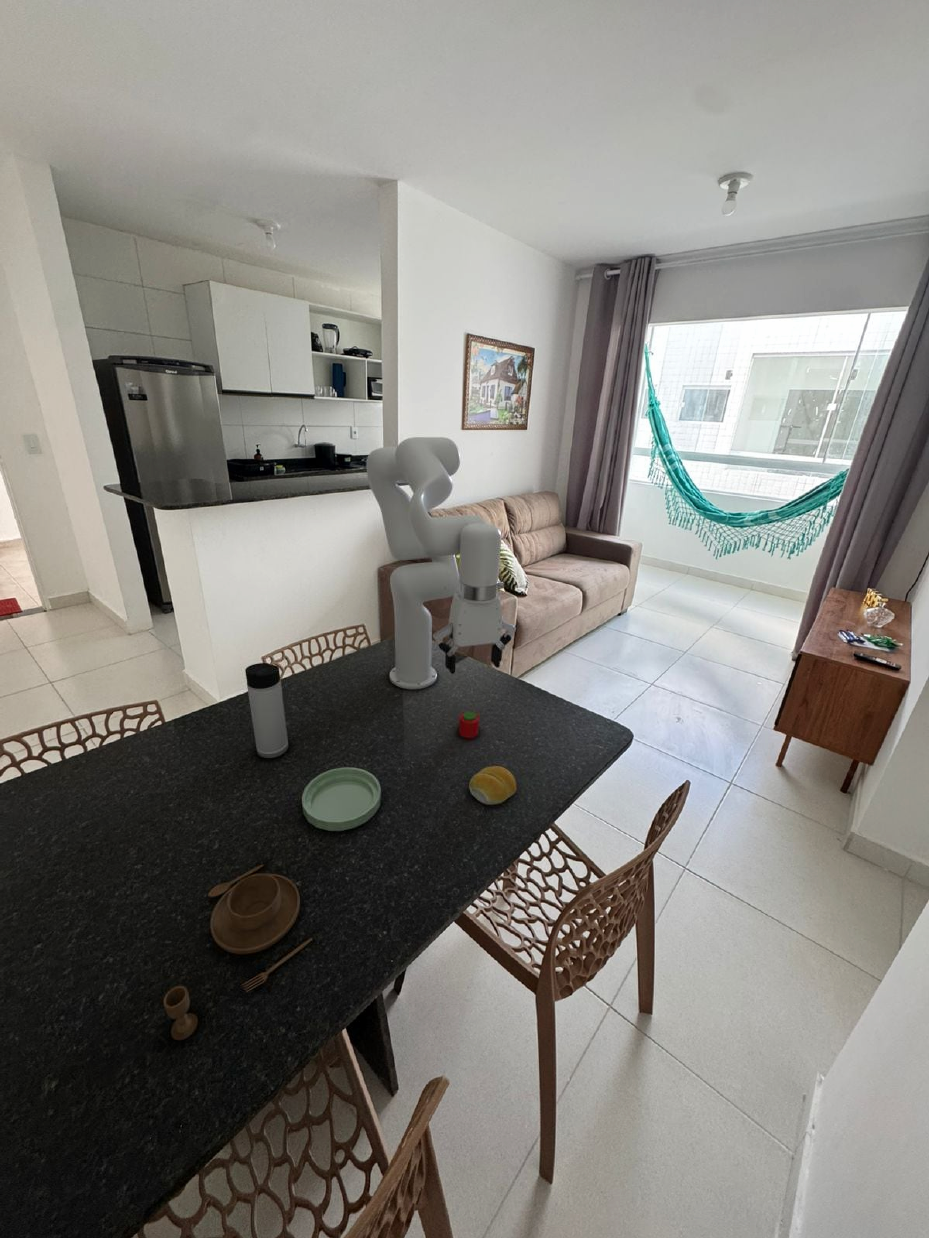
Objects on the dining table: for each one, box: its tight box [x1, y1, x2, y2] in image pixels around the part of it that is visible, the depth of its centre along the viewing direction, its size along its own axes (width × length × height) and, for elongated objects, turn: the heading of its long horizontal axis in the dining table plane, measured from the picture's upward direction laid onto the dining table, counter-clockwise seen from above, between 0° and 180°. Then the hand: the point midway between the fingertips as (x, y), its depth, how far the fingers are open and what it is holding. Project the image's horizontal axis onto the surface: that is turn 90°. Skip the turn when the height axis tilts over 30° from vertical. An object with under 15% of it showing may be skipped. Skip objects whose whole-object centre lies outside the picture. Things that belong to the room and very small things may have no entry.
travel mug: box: [244, 662, 289, 759], centre depth 104 cm, size 6×7×20 cm
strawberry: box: [458, 711, 480, 739], centre depth 115 cm, size 4×4×5 cm
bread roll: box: [468, 765, 517, 806], centre depth 99 cm, size 8×9×4 cm
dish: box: [301, 766, 382, 832], centre depth 94 cm, size 14×14×3 cm
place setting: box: [163, 864, 313, 1041], centre depth 70 cm, size 18×20×6 cm
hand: (473, 667), depth 105 cm, fingers open, 9 cm apart
